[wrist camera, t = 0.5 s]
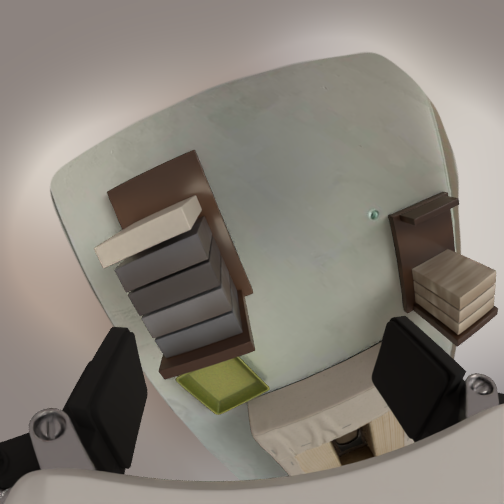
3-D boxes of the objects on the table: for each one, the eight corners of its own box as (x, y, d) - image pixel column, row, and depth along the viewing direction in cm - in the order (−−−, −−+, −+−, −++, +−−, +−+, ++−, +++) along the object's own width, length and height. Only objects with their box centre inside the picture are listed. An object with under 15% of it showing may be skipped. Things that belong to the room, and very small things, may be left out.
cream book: (133, 223, 27) (93, 248, 17) (195, 194, 27) (181, 206, 17) (140, 237, 27) (103, 269, 18) (202, 209, 27) (191, 229, 18)
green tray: (217, 406, 35) (217, 416, 33) (175, 369, 33) (173, 379, 31) (268, 379, 35) (271, 389, 33) (229, 337, 32) (230, 347, 30)
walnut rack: (110, 191, 26) (55, 203, 16) (195, 150, 26) (178, 136, 16) (172, 319, 31) (154, 382, 21) (252, 289, 31) (268, 346, 21)
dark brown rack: (388, 215, 30) (450, 236, 20) (442, 191, 30) (504, 203, 20) (403, 310, 34) (451, 351, 24) (452, 281, 34) (501, 310, 24)
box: (403, 431, 45) (394, 330, 35) (417, 455, 37) (422, 361, 28) (305, 475, 45) (243, 398, 36) (312, 502, 38) (248, 440, 28)
